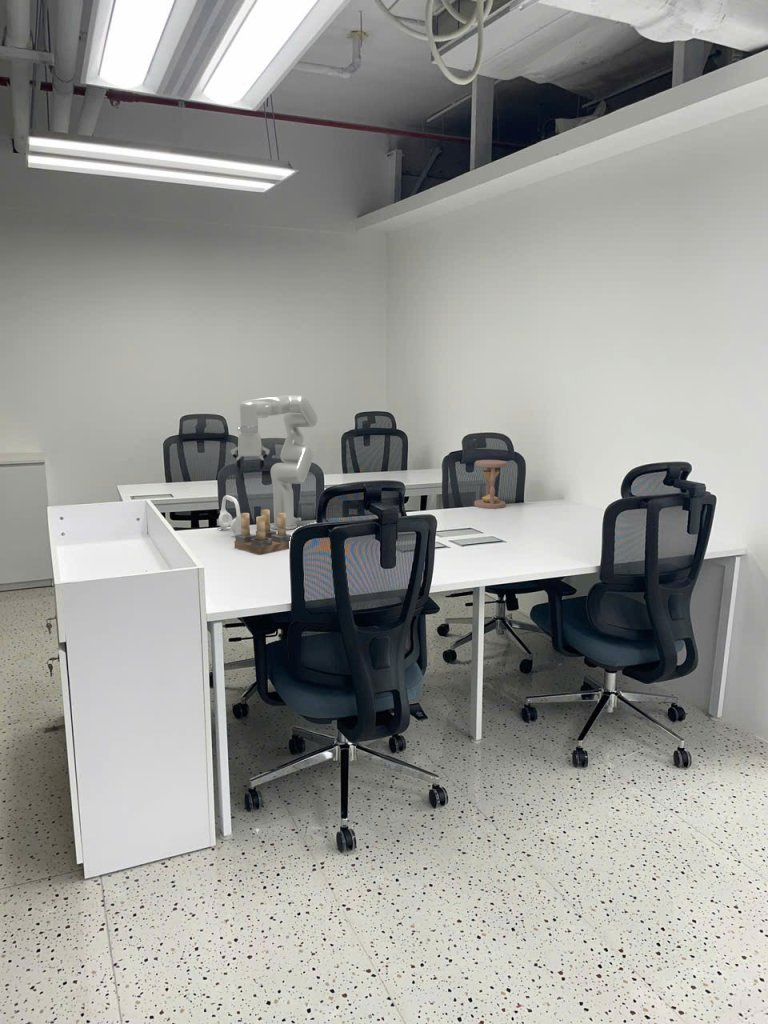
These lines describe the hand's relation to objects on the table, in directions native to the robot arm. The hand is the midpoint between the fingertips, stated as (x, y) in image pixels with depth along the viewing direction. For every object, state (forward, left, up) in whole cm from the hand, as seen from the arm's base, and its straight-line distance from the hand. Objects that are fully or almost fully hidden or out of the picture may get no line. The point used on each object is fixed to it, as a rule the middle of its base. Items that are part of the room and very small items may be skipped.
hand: (250, 468), depth 335 cm
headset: (-1, -18, -33) cm, 37 cm away
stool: (+6, +16, -32) cm, 37 cm away
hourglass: (-143, +28, -32) cm, 149 cm away
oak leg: (+12, +22, -29) cm, 38 cm away
